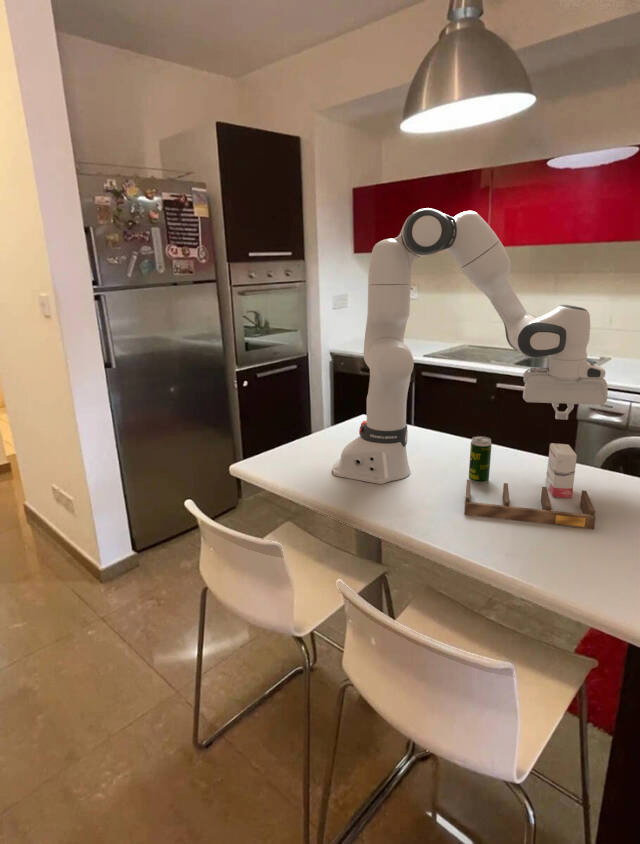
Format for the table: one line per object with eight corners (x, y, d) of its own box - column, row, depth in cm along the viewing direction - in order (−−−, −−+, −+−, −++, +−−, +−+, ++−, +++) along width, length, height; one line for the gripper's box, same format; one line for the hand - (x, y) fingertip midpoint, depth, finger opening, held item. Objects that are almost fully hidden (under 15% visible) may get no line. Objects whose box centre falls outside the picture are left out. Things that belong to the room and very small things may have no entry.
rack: (464, 515, 122) (465, 500, 121) (466, 493, 133) (467, 479, 132) (594, 530, 114) (596, 513, 113) (584, 505, 125) (586, 490, 124)
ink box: (572, 498, 129) (578, 455, 125) (551, 497, 130) (557, 454, 126) (564, 484, 137) (569, 443, 134) (544, 483, 138) (549, 442, 135)
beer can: (477, 474, 145) (480, 434, 141) (492, 481, 140) (496, 440, 137) (464, 479, 142) (466, 438, 138) (479, 485, 138) (482, 444, 134)
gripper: (525, 369, 134) (520, 420, 138) (612, 371, 128) (605, 424, 132) (523, 365, 139) (519, 413, 144) (607, 366, 133) (600, 417, 138)
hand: (561, 418), depth 138 cm, fingers closed
